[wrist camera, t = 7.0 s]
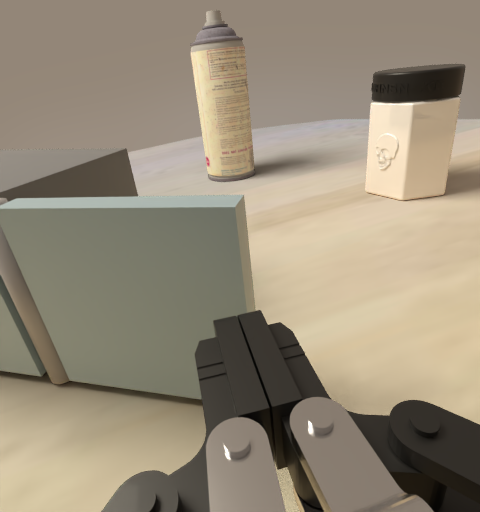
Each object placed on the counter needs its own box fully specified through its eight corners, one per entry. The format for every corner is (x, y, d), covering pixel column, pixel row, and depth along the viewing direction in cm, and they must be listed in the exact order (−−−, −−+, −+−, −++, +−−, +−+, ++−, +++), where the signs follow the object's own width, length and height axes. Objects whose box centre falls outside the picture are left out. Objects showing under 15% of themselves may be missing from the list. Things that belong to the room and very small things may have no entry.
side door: (263, 389, 17) (244, 193, 13) (257, 414, 16) (234, 208, 12) (-53, 348, 23) (-147, 200, 18) (-75, 364, 22) (-181, 210, 17)
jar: (347, 189, 42) (352, 75, 36) (389, 173, 46) (399, 67, 40) (421, 207, 35) (441, 70, 30) (463, 185, 39) (487, 61, 34)
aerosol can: (244, 165, 57) (229, 14, 48) (262, 174, 51) (250, 4, 42) (202, 174, 55) (179, 17, 46) (217, 184, 49) (193, 8, 40)
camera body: (158, 279, 28) (123, 135, 23) (66, 359, 21) (-14, 177, 16) (18, 255, 35) (-32, 140, 30) (-87, 310, 28) (-177, 171, 23)
